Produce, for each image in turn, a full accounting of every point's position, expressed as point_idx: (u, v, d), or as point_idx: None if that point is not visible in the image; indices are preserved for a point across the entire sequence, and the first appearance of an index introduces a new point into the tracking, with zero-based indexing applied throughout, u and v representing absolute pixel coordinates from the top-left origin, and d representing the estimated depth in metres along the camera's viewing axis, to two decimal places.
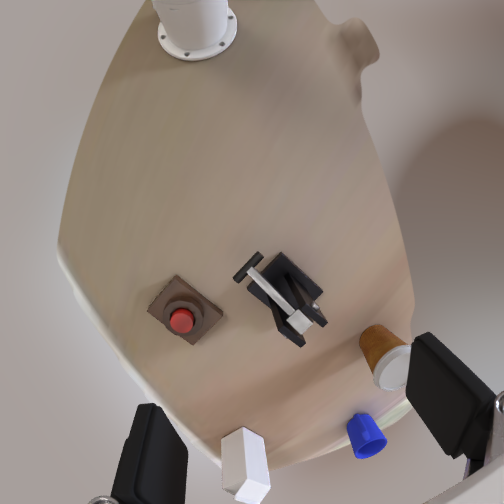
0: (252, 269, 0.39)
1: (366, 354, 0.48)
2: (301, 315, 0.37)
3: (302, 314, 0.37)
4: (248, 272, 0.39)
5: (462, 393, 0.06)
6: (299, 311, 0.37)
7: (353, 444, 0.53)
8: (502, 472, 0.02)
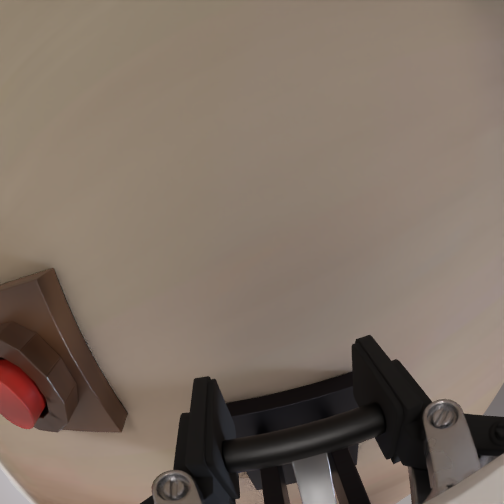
0: (321, 462, 0.07)
1: None
2: None
3: None
4: (299, 465, 0.07)
5: (389, 398, 0.07)
6: None
7: None
8: (502, 472, 0.02)
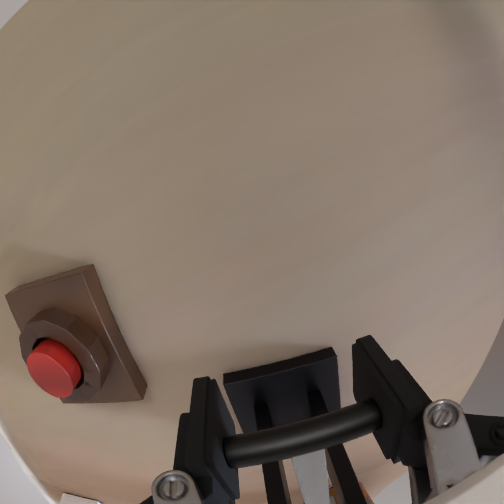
0: (318, 455, 0.08)
1: None
2: None
3: None
4: (298, 459, 0.07)
5: (389, 398, 0.07)
6: None
7: None
8: (502, 472, 0.02)
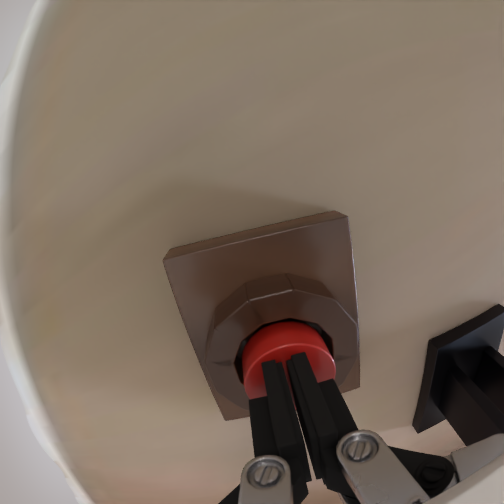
0: None
1: None
2: None
3: None
4: None
5: (305, 422, 0.07)
6: None
7: None
8: (502, 472, 0.02)
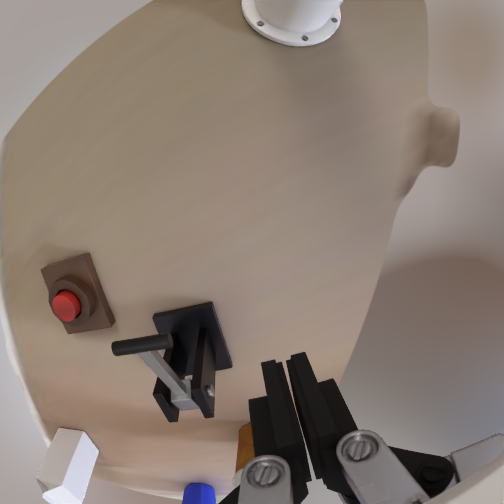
0: (148, 354, 0.21)
1: (240, 447, 0.38)
2: (191, 402, 0.26)
3: (193, 402, 0.26)
4: (140, 354, 0.21)
5: (305, 422, 0.07)
6: (191, 400, 0.25)
7: None
8: (502, 472, 0.02)
